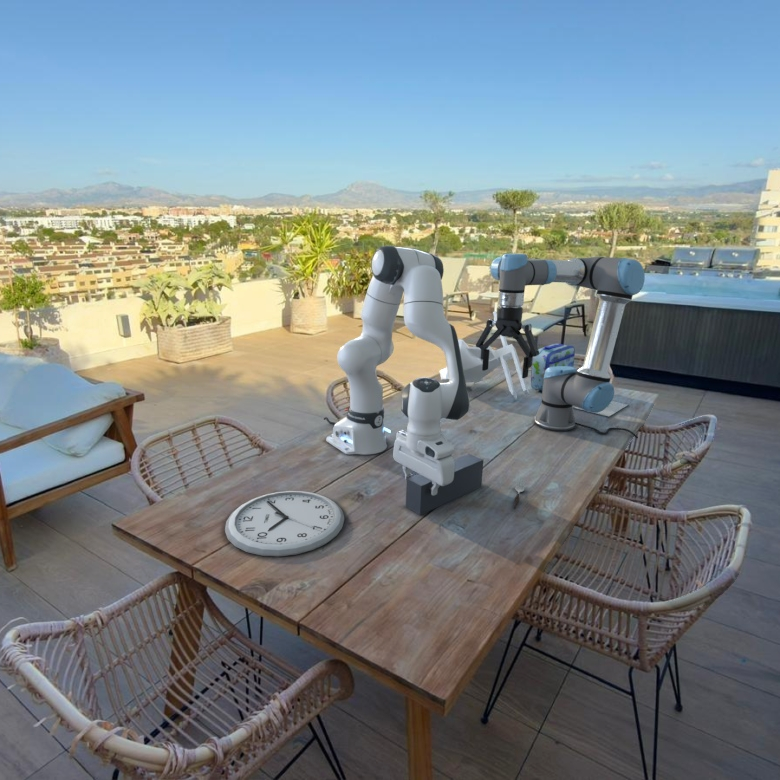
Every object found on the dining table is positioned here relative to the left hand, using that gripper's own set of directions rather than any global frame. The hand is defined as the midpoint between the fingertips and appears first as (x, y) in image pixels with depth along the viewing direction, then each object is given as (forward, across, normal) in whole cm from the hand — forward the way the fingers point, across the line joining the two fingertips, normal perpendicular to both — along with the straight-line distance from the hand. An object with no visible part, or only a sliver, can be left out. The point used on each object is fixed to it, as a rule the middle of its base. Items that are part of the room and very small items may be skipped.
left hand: (420, 487), depth 141 cm
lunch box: (+6, -42, +126) cm, 133 cm away
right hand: (-23, -7, +42) cm, 48 cm away
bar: (+6, 0, +10) cm, 11 cm away
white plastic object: (+6, -58, +93) cm, 110 cm away
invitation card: (+6, -12, +120) cm, 120 cm away
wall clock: (+6, -16, -32) cm, 37 cm away
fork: (+6, +14, +25) cm, 29 cm away
